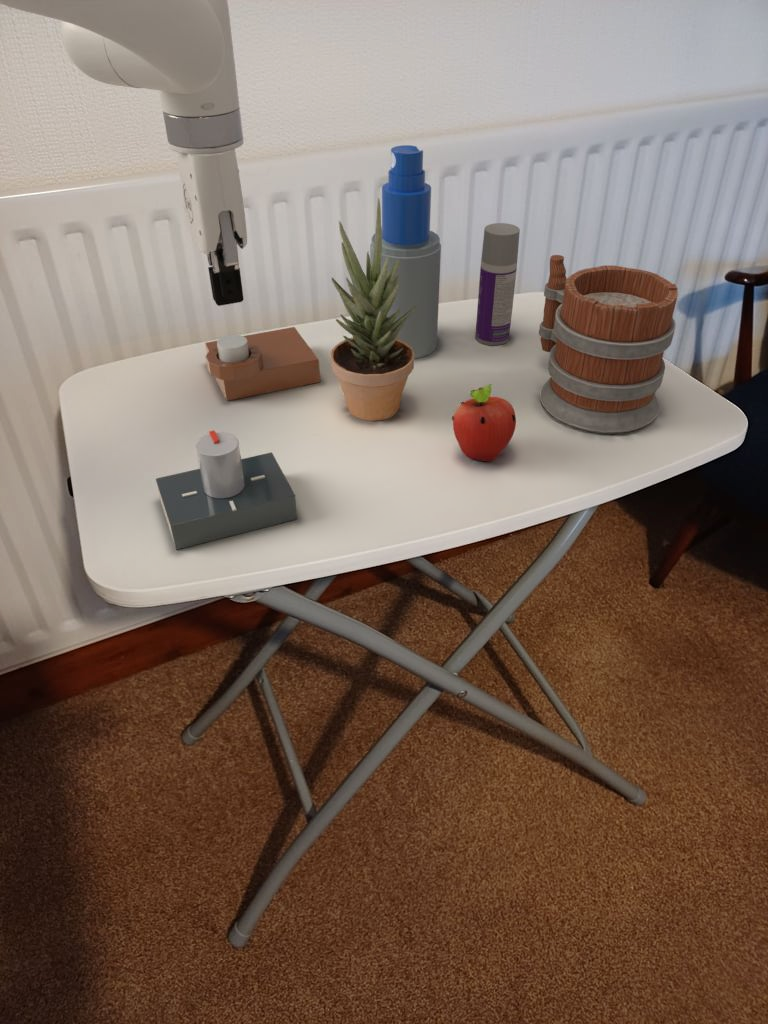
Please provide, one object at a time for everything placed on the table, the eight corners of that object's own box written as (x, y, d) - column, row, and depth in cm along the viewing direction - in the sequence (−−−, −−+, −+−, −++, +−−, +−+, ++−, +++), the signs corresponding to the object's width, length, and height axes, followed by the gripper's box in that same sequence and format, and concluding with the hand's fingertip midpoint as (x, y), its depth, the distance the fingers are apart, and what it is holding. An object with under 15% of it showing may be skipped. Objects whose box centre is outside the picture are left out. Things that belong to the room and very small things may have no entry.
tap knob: (249, 492, 76) (243, 446, 73) (209, 502, 75) (201, 457, 71) (238, 470, 79) (231, 425, 76) (198, 480, 78) (190, 435, 74)
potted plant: (339, 433, 90) (330, 214, 74) (328, 392, 97) (317, 184, 81) (424, 424, 91) (432, 207, 76) (407, 384, 98) (411, 179, 83)
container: (469, 333, 110) (477, 225, 100) (499, 328, 111) (509, 220, 101) (484, 348, 106) (494, 237, 97) (515, 342, 107) (527, 232, 98)
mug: (587, 448, 87) (612, 322, 78) (493, 372, 101) (504, 258, 91) (683, 418, 92) (717, 296, 83) (581, 350, 106) (600, 239, 96)
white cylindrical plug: (223, 366, 93) (220, 350, 91) (216, 353, 95) (213, 337, 94) (252, 360, 94) (250, 345, 92) (244, 347, 96) (243, 332, 95)
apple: (443, 441, 88) (447, 361, 82) (501, 434, 89) (509, 355, 83) (461, 480, 83) (467, 398, 76) (523, 473, 84) (534, 391, 77)
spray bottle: (382, 363, 103) (381, 161, 87) (363, 334, 109) (359, 141, 94) (446, 354, 105) (456, 154, 89) (423, 325, 111) (429, 136, 96)
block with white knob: (219, 408, 94) (213, 371, 91) (198, 366, 102) (193, 331, 99) (323, 386, 98) (321, 350, 95) (296, 348, 106) (293, 313, 103)
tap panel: (176, 551, 74) (170, 525, 72) (160, 501, 80) (154, 476, 78) (297, 519, 78) (295, 494, 76) (274, 474, 83) (271, 450, 81)
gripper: (153, 116, 83) (183, 282, 95) (181, 152, 72) (211, 334, 84) (223, 109, 85) (243, 272, 97) (260, 142, 74) (278, 322, 86)
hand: (228, 300), depth 90 cm, fingers closed
